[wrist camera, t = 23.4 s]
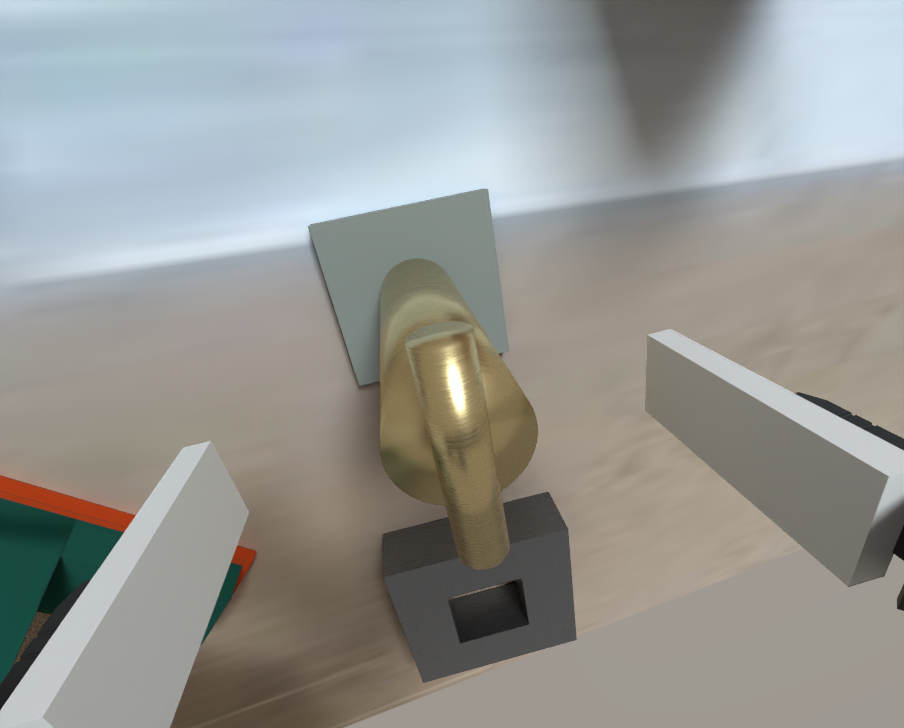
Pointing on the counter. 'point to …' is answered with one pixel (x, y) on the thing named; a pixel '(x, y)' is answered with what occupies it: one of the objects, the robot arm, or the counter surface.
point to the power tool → (62, 556)
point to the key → (449, 409)
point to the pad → (402, 238)
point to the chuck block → (488, 612)
